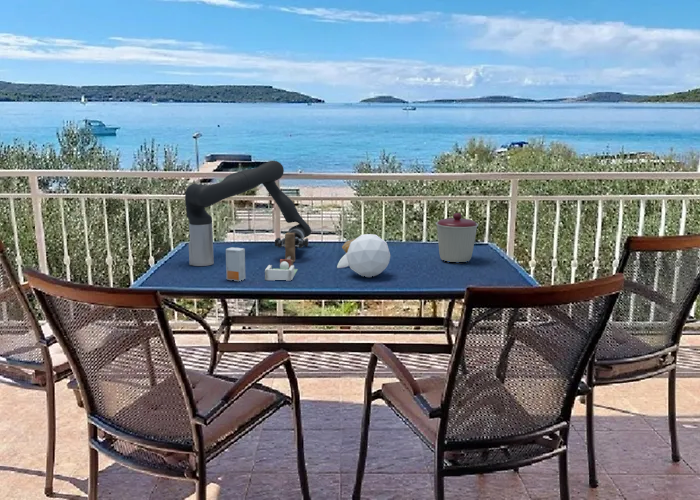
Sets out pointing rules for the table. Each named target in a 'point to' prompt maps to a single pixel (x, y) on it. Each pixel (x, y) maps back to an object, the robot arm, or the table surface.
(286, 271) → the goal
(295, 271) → the pale green square plate
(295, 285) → the table surface
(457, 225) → the canister
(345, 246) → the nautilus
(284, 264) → the ball
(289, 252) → the brown thin block
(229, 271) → the skincare box
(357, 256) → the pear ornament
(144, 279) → the table surface
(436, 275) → the table surface
